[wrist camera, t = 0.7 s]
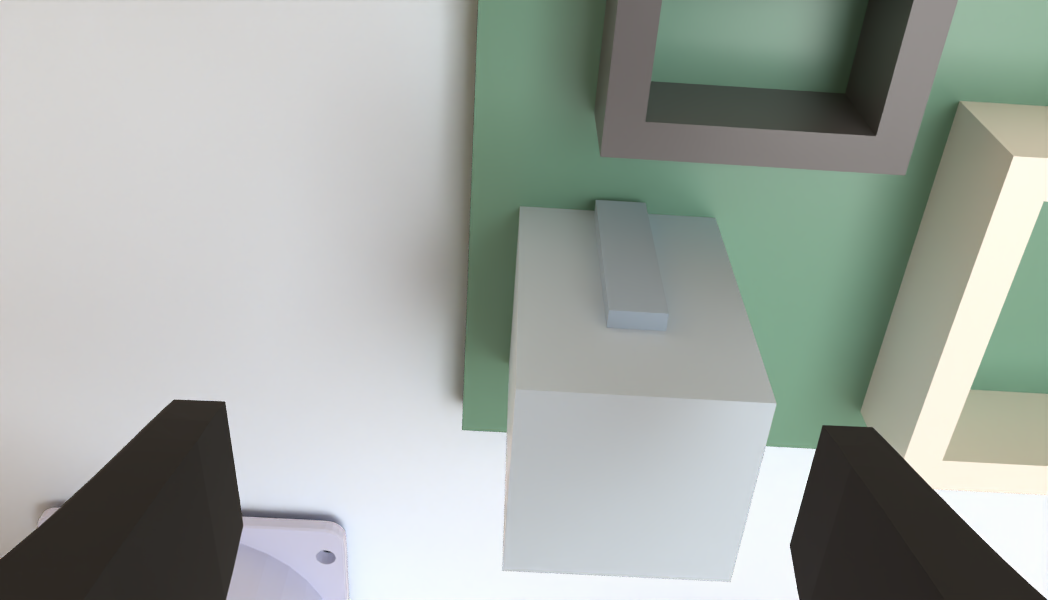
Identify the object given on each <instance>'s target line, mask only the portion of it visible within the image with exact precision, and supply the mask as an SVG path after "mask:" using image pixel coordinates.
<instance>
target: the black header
mask: <svg viewBox="0 0 1048 600" xmlns="http://www.w3.org/2000/svg"><path fill="white" fill-rule="evenodd" d="M957 2H958V0H869V1H868V5H867V9H866V13H865V17H864V21H863V25H862V29H861V33H860V37H859V41H858V45H857V49H856V53H855V57H854V61H853V65H852V69H851V73H850V77H849V81H848V84H847V88H846V92H845V94H844V93H829V92H813V91H797V90H781V89H765V88H750V87H734V86H718V85H702V84H686V83H671V82H655V81H651V77H652V70H653V63H654V55H655V48H656V41H657V34H658V27H659V19H660V12H661V5H662V0H606V8H605V18H604V27H603V36H602V45H601V55H600V64H599V73H598V82H597V92H596V101H595V110H594V115H595V122H596V130H597V137H598V144H599V151H600V157H610V158H627V159H643V160H659V161H676V162H692V163H709V164H725V165H741V166H758V167H774V168H791V169H807V170H823V171H840V172H856V173H873V174H889V175H906V171H907V168H908V165H909V161H910V158H911V155H912V151H913V148H914V145H915V141H916V138H917V135H918V131H919V128H920V125H921V121H922V118H923V115H924V111H925V108H926V105H927V101H928V98H929V95H930V92H931V88H932V85H933V82H934V78H935V75H936V72H937V68H938V65H939V62H940V58H941V55H942V52H943V48H944V45H945V42H946V38H947V35H948V32H949V28H950V25H951V22H952V19H953V15H954V12H955V9H956V5H957Z"/></svg>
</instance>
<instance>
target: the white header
mask: <svg viewBox="0 0 1048 600" xmlns="http://www.w3.org/2000/svg"><path fill="white" fill-rule="evenodd" d="M1044 201H1047V202H1048V106H1034V105H1018V104H1002V103H987V102H971V101H960V102H959V105H958V108H957V111H956V114H955V117H954V120H953V123H952V127H951V130H950V133H949V136H948V139H947V142H946V145H945V148H944V152H943V155H942V158H941V161H940V164H939V167H938V170H937V173H936V177H935V180H934V183H933V186H932V189H931V192H930V195H929V198H928V202H927V205H926V208H925V211H924V214H923V217H922V220H921V223H920V227H919V230H918V233H917V236H916V239H915V242H914V245H913V248H912V252H911V255H910V258H909V261H908V264H907V267H906V270H905V273H904V277H903V280H902V283H901V286H900V289H899V292H898V295H897V298H896V302H895V305H894V308H893V311H892V314H891V317H890V320H889V323H888V327H887V330H886V333H885V336H884V339H883V342H882V345H881V348H880V352H879V355H878V358H877V361H876V364H875V367H874V370H873V373H872V377H871V380H870V383H869V386H868V389H867V392H866V395H865V398H864V402H863V405H862V408H861V411H860V412H861V414H862V416H863V419H864V421H865V423H866V425H867V427H873V428H874V429H875V430H876V431H877V432H878V433H879V434H880V435H881V436H882V437H883V438H884V439H885V440H886V441H887V442H888V443H889V444H890V445H891V446H892V447H893V448H894V449H895V450H896V451H897V452H898V453H899V454H900V455H901V456H902V457H903V458H904V459H905V460H906V462H907V463H908V464H909V465H910V466H911V467H912V468H913V469H914V470H915V471H916V472H917V473H918V474H919V475H920V476H921V477H922V478H923V479H924V480H925V481H926V482H927V483H928V484H929V485H930V487H931V488H932V489H938V490H958V491H977V492H996V493H1016V494H1035V495H1048V394H1041V393H1023V392H1005V391H987V390H970V388H971V386H972V383H973V381H974V378H975V376H976V373H977V371H978V368H979V365H980V363H981V360H982V358H983V355H984V353H985V350H986V348H987V345H988V343H989V340H990V337H991V335H992V332H993V330H994V327H995V325H996V322H997V320H998V317H999V314H1000V312H1001V309H1002V307H1003V304H1004V302H1005V299H1006V297H1007V294H1008V291H1009V289H1010V286H1011V284H1012V281H1013V279H1014V276H1015V274H1016V271H1017V268H1018V266H1019V263H1020V261H1021V258H1022V256H1023V253H1024V251H1025V248H1026V245H1027V243H1028V240H1029V238H1030V235H1031V233H1032V230H1033V228H1034V225H1035V223H1036V220H1037V217H1038V215H1039V212H1040V210H1041V207H1042V205H1043V202H1044Z"/></svg>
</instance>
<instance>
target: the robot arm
mask: <svg viewBox="0 0 1048 600" xmlns="http://www.w3.org/2000/svg"><path fill="white" fill-rule="evenodd" d="M790 549H791V554H792V560H793V566H794V572H795V578H796V584H797V589H798V595H799V600H1047V599H1046V598H1045V597H1044V596H1042V595H1041V594H1040V593H1039V592H1038V591H1037V590H1036V589H1035V588H1033V587H1032V586H1031V585H1030V584H1029V583H1028V582H1027V581H1026V580H1025V579H1024V578H1023V577H1021V576H1020V575H1019V574H1018V573H1017V572H1016V571H1015V570H1014V569H1013V568H1012V567H1011V566H1010V565H1009V564H1008V563H1007V562H1005V561H1004V560H1003V559H1002V558H1001V557H1000V556H999V555H998V554H997V553H996V552H995V551H994V550H993V549H992V548H991V547H990V546H989V545H988V544H987V543H986V542H985V541H984V540H983V539H982V538H981V537H980V536H979V535H978V534H977V533H976V532H975V531H974V530H973V529H972V528H971V527H970V526H969V525H968V524H967V523H966V522H965V521H964V520H963V519H962V518H961V517H960V516H959V515H958V514H957V513H956V512H955V511H954V510H953V509H952V508H951V507H950V506H949V505H948V504H947V503H946V502H945V501H944V500H943V499H942V498H941V497H940V496H939V495H938V494H937V493H936V492H935V491H934V490H933V489H932V488H931V487H930V485H929V484H928V483H927V482H926V481H925V480H924V479H923V478H922V477H921V476H920V475H919V474H918V473H917V472H916V471H915V470H914V469H913V468H912V467H911V466H910V465H909V464H908V463H907V462H906V460H905V459H904V458H903V457H902V456H901V455H900V454H899V453H898V452H897V451H896V450H895V449H894V448H893V447H892V446H891V445H890V444H889V443H888V442H887V441H886V440H885V439H884V438H883V437H882V436H881V435H880V434H879V433H878V432H877V431H876V430H875V429H874V428H873V427H858V426H832V425H823V426H822V429H821V433H820V437H819V440H818V444H817V448H816V451H815V455H814V459H813V462H812V466H811V470H810V473H809V477H808V481H807V484H806V488H805V492H804V495H803V499H802V503H801V506H800V510H799V514H798V517H797V521H796V525H795V528H794V532H793V536H792V539H791V543H790ZM324 550H326V551H331V552H332V553H327V552H323V551H324ZM0 600H349V583H348V563H347V542H346V533H345V530H344V529H343V528H342V527H341V526H340V525H338V524H336V523H334V522H331V521H322V520H302V519H282V518H262V517H242V512H241V506H240V499H239V492H238V486H237V479H236V472H235V465H234V459H233V452H232V445H231V438H230V432H229V425H228V418H227V411H226V405H225V402H221V401H195V400H173V401H172V402H171V403H170V404H169V405H167V406H166V407H165V408H164V409H163V410H162V411H161V412H160V413H159V414H158V415H157V416H156V417H155V418H154V419H152V420H151V421H150V422H149V423H148V424H147V425H146V426H145V427H144V428H143V429H142V430H141V431H140V432H139V433H138V434H137V435H136V436H135V437H134V438H133V439H132V440H131V441H130V442H129V443H128V444H127V445H126V446H125V447H124V448H123V449H122V450H121V451H120V452H119V453H118V454H117V455H115V456H114V457H113V458H112V459H111V460H110V461H109V462H108V463H107V464H106V465H105V466H104V467H103V468H102V469H101V470H100V471H99V472H98V473H97V474H96V475H95V476H94V477H93V478H91V479H90V480H89V481H88V482H87V483H86V484H85V485H84V486H83V487H82V488H81V489H80V490H78V491H77V492H76V493H75V494H74V495H73V496H72V497H71V498H70V499H69V500H68V501H67V502H65V503H64V504H63V505H62V506H61V507H55V508H49V509H47V510H45V511H44V513H43V514H42V516H41V517H40V519H39V521H38V523H37V529H36V530H35V531H33V532H32V533H31V534H30V535H29V536H28V537H26V538H25V539H24V540H23V541H22V542H20V543H19V544H18V545H17V546H16V547H14V548H13V549H12V550H11V551H10V552H9V553H7V554H6V555H5V556H4V557H3V558H1V559H0Z"/></svg>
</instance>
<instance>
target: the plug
mask: <svg viewBox="0 0 1048 600" xmlns="http://www.w3.org/2000/svg"><path fill="white" fill-rule="evenodd" d="M776 404H777V403H776V400H775V397H774V394H773V391H772V388H771V385H770V382H769V379H768V376H767V373H766V370H765V367H764V363H763V360H762V357H761V354H760V351H759V348H758V345H757V342H756V339H755V336H754V333H753V330H752V327H751V324H750V321H749V318H748V315H747V312H746V309H745V306H744V303H743V300H742V297H741V294H740V291H739V288H738V285H737V282H736V279H735V276H734V273H733V270H732V267H731V264H730V260H729V257H728V254H727V251H726V248H725V245H724V242H723V239H722V236H721V233H720V230H719V227H718V224H717V221H716V218H709V217H692V216H675V215H658V214H648V212H647V207H646V203H641V202H625V201H608V200H596V202H595V211H591V210H574V209H558V208H541V207H524V206H520V212H519V227H518V241H517V256H516V270H515V285H514V300H513V314H512V329H511V344H510V358H509V382H508V413H507V443H506V474H505V505H504V535H503V566H502V571H519V572H539V573H560V574H580V575H601V576H621V577H642V578H662V579H682V580H703V581H723V582H731V578H732V574H733V570H734V566H735V563H736V559H737V555H738V551H739V547H740V543H741V539H742V536H743V532H744V528H745V524H746V520H747V516H748V512H749V509H750V505H751V501H752V497H753V493H754V489H755V485H756V482H757V478H758V474H759V470H760V466H761V462H762V458H763V455H764V451H765V447H766V443H767V439H768V435H769V431H770V427H771V424H772V420H773V416H774V412H775V408H776Z"/></svg>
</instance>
